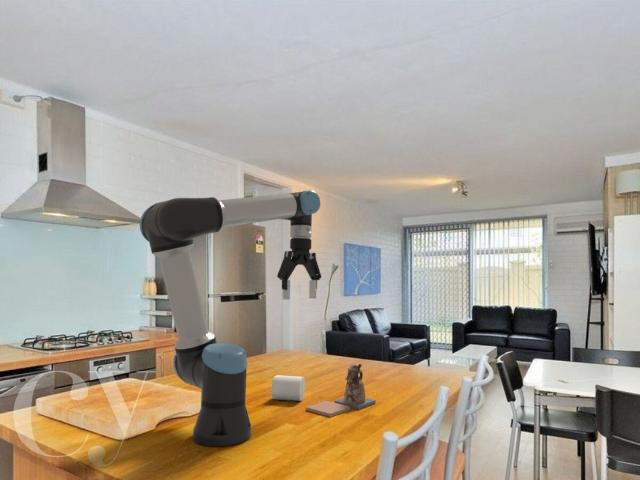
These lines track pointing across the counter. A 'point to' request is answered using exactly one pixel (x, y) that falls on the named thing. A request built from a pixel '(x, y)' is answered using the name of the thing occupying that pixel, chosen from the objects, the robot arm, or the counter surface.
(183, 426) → the counter surface
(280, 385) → the white rounded block
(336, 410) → the terracotta tile
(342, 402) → the slate tile
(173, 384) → the counter surface
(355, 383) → the figurine
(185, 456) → the counter surface
